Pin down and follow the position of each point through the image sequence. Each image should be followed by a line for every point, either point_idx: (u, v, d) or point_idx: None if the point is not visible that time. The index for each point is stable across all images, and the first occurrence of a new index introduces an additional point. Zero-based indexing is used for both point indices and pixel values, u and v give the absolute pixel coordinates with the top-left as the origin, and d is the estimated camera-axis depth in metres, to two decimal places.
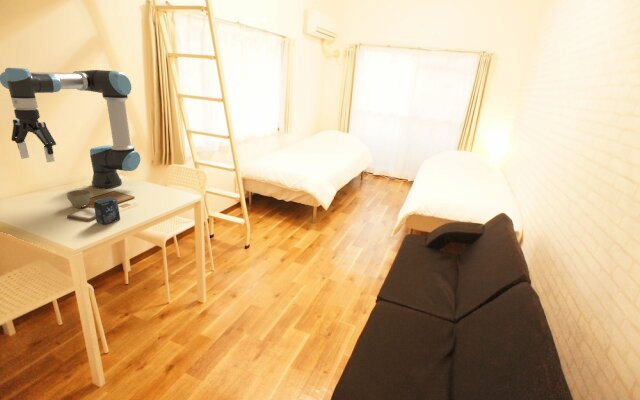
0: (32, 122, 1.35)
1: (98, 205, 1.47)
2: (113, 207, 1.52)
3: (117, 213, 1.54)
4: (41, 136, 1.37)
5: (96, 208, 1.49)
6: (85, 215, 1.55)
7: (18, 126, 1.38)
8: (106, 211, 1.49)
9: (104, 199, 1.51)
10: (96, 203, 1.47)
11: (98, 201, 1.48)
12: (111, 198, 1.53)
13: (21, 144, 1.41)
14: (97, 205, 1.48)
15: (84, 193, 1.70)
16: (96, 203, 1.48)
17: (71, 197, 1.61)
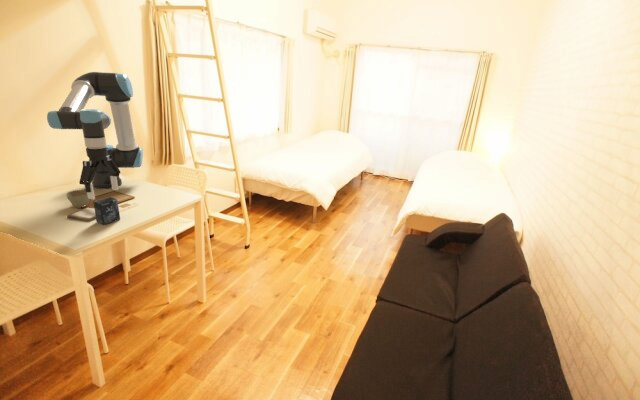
0: None
1: (98, 205, 1.47)
2: (113, 207, 1.52)
3: (117, 213, 1.54)
4: None
5: (96, 208, 1.49)
6: (85, 215, 1.55)
7: (109, 161, 1.50)
8: (106, 211, 1.49)
9: (104, 199, 1.51)
10: (96, 203, 1.47)
11: (98, 201, 1.48)
12: (111, 198, 1.53)
13: (112, 177, 1.53)
14: (97, 205, 1.48)
15: (84, 193, 1.70)
16: (96, 203, 1.48)
17: (71, 197, 1.61)
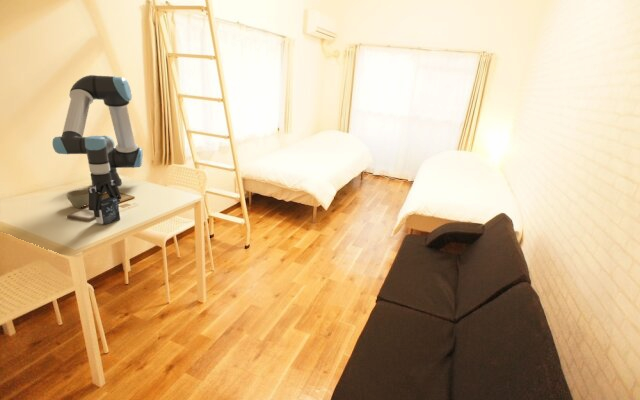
0: None
1: None
2: (113, 207, 1.52)
3: (117, 213, 1.54)
4: None
5: None
6: (85, 215, 1.55)
7: (112, 186, 1.54)
8: (106, 211, 1.49)
9: (104, 198, 1.51)
10: None
11: None
12: (111, 198, 1.53)
13: None
14: None
15: (84, 193, 1.70)
16: None
17: (71, 197, 1.61)
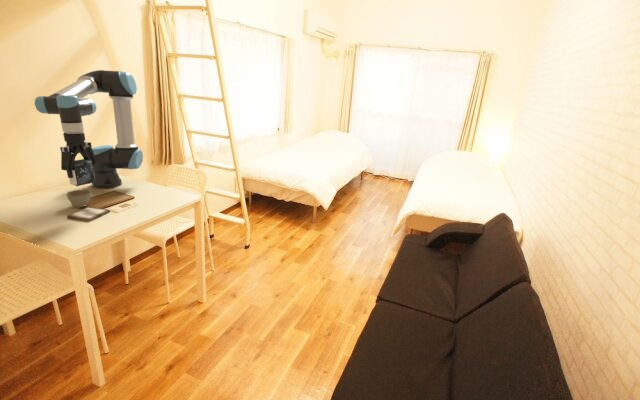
0: None
1: None
2: (88, 168, 1.51)
3: (92, 175, 1.53)
4: None
5: None
6: (85, 215, 1.55)
7: (87, 148, 1.53)
8: (80, 172, 1.48)
9: (78, 160, 1.50)
10: None
11: None
12: (85, 160, 1.52)
13: None
14: None
15: (84, 193, 1.70)
16: None
17: (71, 197, 1.61)
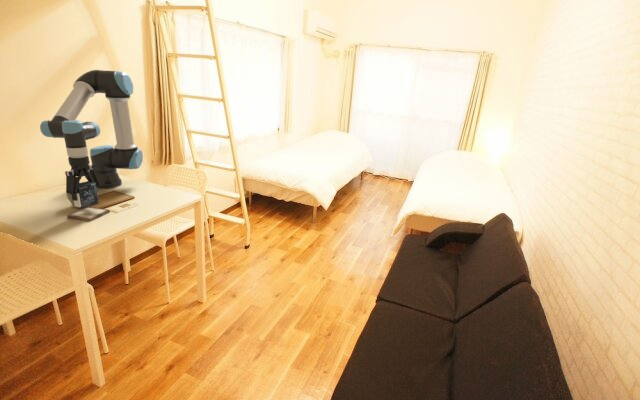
0: None
1: None
2: (92, 191, 1.54)
3: (95, 197, 1.57)
4: (73, 183, 1.48)
5: None
6: (85, 215, 1.55)
7: (91, 171, 1.57)
8: (84, 195, 1.52)
9: (83, 183, 1.54)
10: None
11: None
12: (89, 182, 1.55)
13: None
14: None
15: None
16: None
17: (71, 197, 1.61)
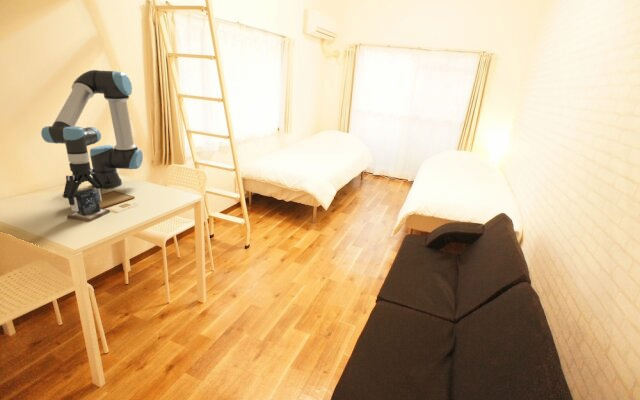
0: None
1: (78, 196, 1.51)
2: (93, 198, 1.56)
3: (97, 204, 1.58)
4: None
5: (76, 199, 1.53)
6: (85, 215, 1.55)
7: (92, 174, 1.58)
8: (86, 202, 1.54)
9: (84, 190, 1.55)
10: (76, 194, 1.52)
11: (78, 193, 1.52)
12: (91, 190, 1.57)
13: (95, 189, 1.61)
14: (77, 197, 1.52)
15: None
16: (75, 194, 1.52)
17: None
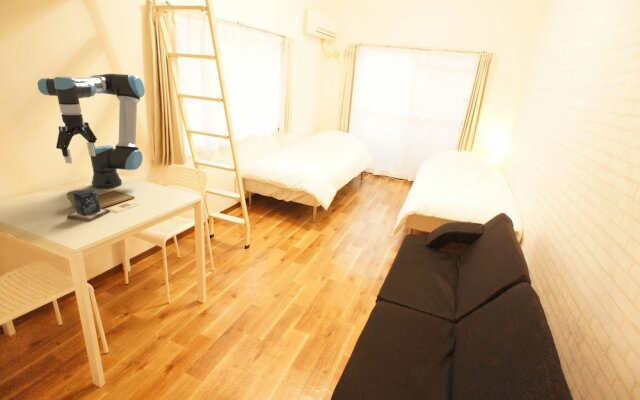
0: None
1: (78, 196, 1.51)
2: (93, 198, 1.56)
3: (97, 204, 1.58)
4: (64, 139, 1.48)
5: (76, 199, 1.53)
6: (85, 215, 1.55)
7: (85, 128, 1.58)
8: (86, 202, 1.54)
9: (84, 190, 1.55)
10: (76, 194, 1.52)
11: (78, 193, 1.52)
12: (91, 190, 1.57)
13: (88, 143, 1.61)
14: (77, 197, 1.52)
15: None
16: (75, 194, 1.52)
17: (71, 197, 1.61)
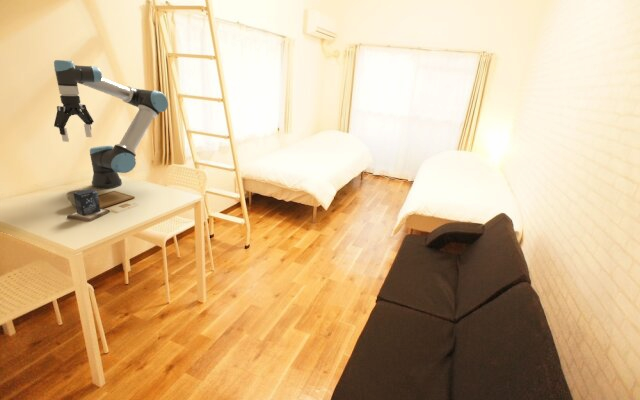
0: None
1: (78, 196, 1.51)
2: (93, 198, 1.56)
3: (97, 204, 1.58)
4: None
5: (76, 199, 1.53)
6: (85, 215, 1.55)
7: (82, 110, 1.68)
8: (86, 202, 1.54)
9: (84, 190, 1.55)
10: (76, 194, 1.52)
11: (78, 193, 1.52)
12: (91, 190, 1.57)
13: (85, 125, 1.71)
14: (77, 197, 1.52)
15: None
16: (75, 194, 1.52)
17: (71, 197, 1.61)
